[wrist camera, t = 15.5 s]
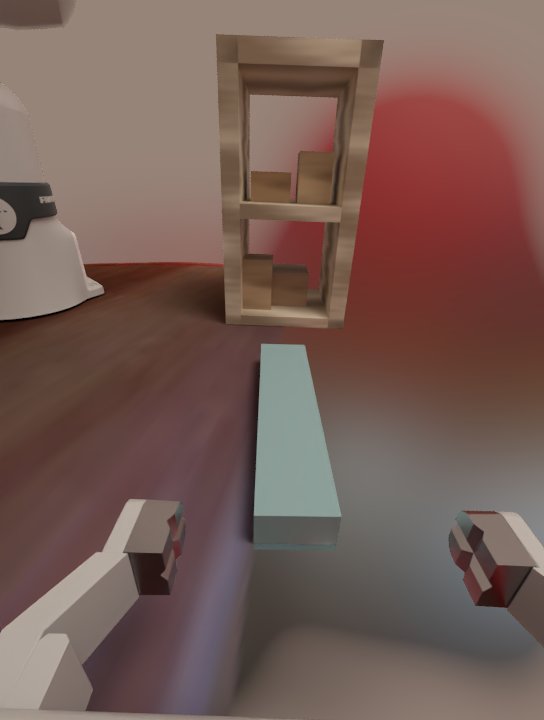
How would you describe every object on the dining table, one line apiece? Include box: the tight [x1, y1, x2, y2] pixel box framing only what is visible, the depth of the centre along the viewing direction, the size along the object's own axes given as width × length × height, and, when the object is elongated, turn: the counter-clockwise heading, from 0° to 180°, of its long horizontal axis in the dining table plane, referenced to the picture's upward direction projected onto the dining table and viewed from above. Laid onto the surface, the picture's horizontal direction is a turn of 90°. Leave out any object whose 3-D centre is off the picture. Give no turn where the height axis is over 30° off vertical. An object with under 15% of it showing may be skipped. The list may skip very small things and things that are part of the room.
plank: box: [254, 344, 342, 550], centre depth 24 cm, size 18×4×2 cm, turn 1°
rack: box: [216, 34, 384, 329], centre depth 39 cm, size 12×14×26 cm
